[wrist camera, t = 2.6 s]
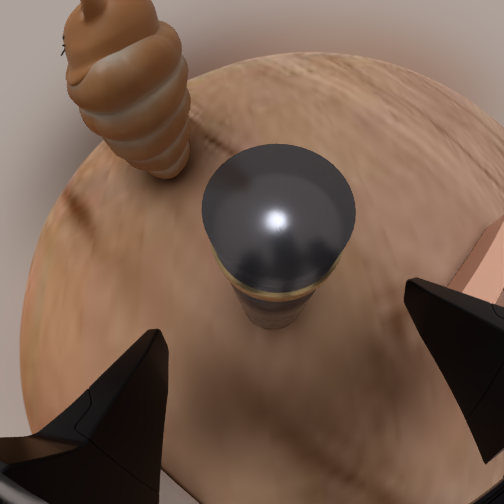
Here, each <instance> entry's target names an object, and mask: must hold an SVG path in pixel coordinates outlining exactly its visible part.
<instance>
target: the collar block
mask: <svg viewBox="0 0 504 504" xmlns="http://www.w3.org/2000/svg"><path fill="white" fill-rule="evenodd" d="M447 288H450V289H453V290H456V291H459V292H462V293H464V294H467V295H470V296H473V297H476V298H479V299H482V300H484V301H487V302H490V304H491V303H493V304H495V303H496V301H497V299H498V297H499V295H500V293H501V291H502V289H504V215H503V216H502V217H501V218H499V219H498V220H497V221H496V222H494V223H493V224H492V225H491V226H489V227H488V228H487V229H485V231H484V233H483V234H482V236H481V238H480V239H479V241H478V242H477V244H476V246H475V247H474V249H473V250H472V252H471V253H470V255H469V256H468V258H467V259H466V261H465V262H464V264H463V265H462V267H461V268H460V270H459V271H458V272H457V274H456V275H455V277H454V278H453V279H452V281H451V282H450V283H449V285H448V286H447Z"/></svg>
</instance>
